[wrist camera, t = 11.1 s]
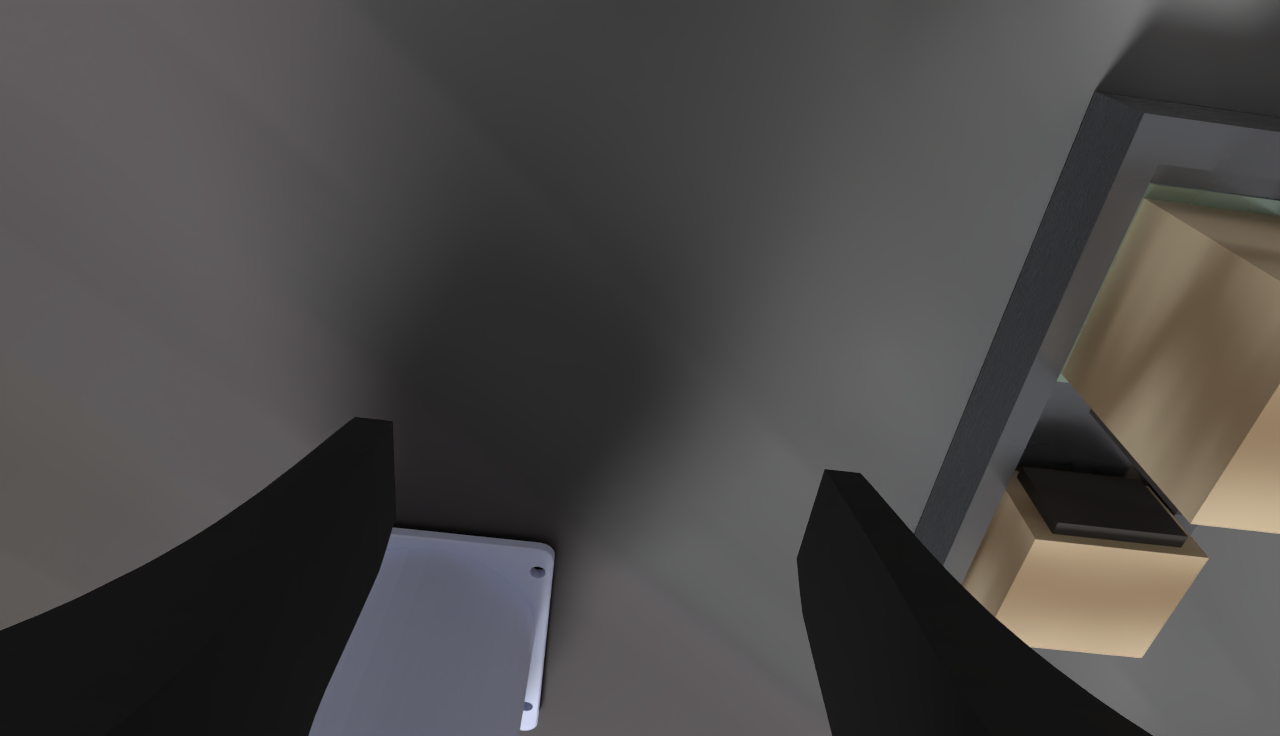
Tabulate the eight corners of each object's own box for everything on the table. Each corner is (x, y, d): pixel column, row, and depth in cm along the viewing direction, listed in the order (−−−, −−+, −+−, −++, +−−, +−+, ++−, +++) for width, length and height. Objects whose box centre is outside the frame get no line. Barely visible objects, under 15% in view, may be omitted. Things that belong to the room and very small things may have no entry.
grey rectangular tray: (1086, 594, 27) (1118, 645, 26) (898, 574, 27) (916, 625, 25) (1359, 129, 19) (1436, 153, 17) (1094, 91, 19) (1144, 113, 17)
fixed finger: (1092, 581, 26) (1141, 658, 23) (948, 566, 26) (982, 642, 23) (1154, 475, 24) (1216, 546, 21) (998, 457, 23) (1040, 527, 21)
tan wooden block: (1177, 401, 22) (1337, 555, 17) (1056, 386, 22) (1181, 538, 17) (1281, 216, 19) (1511, 333, 14) (1144, 198, 19) (1326, 310, 14)
